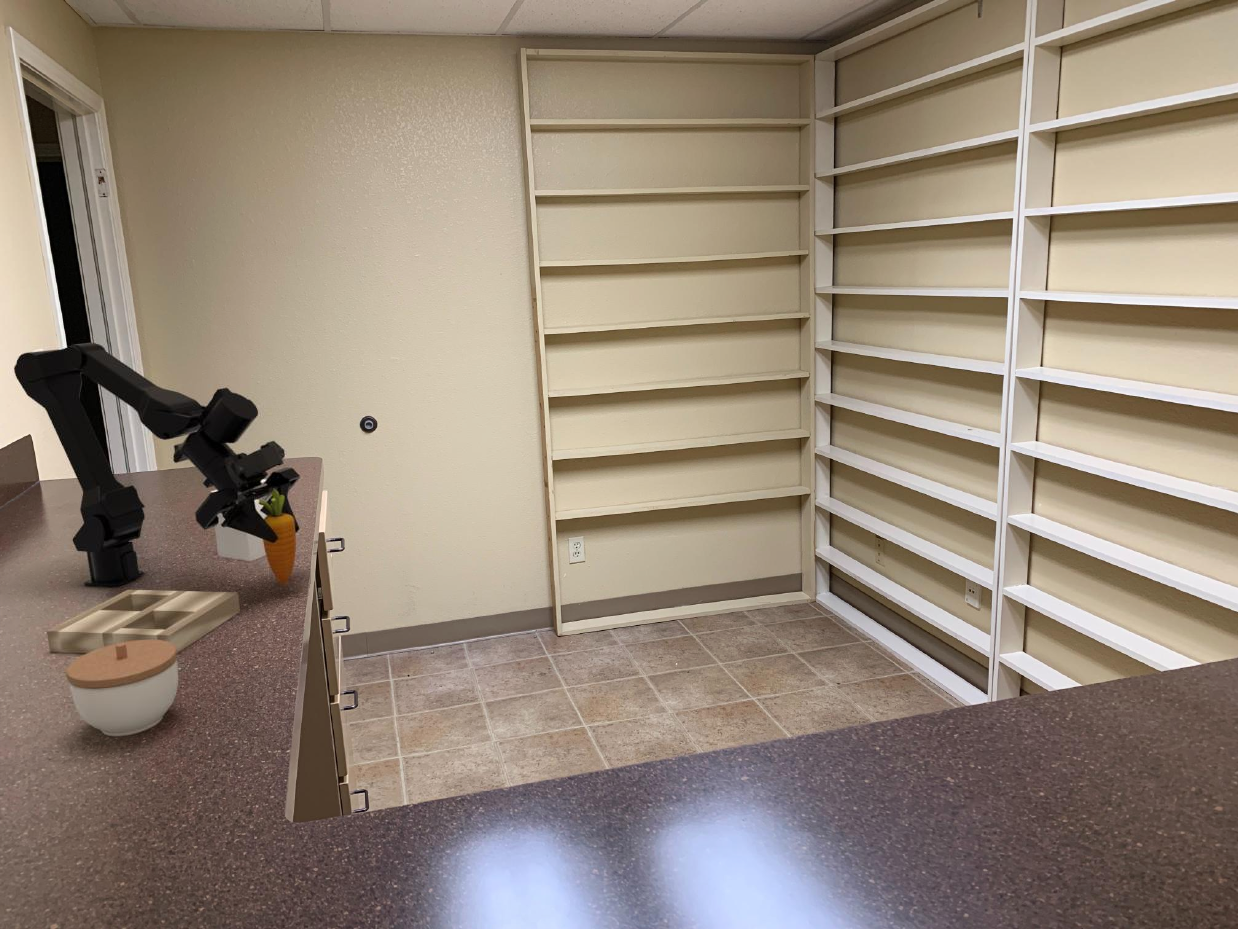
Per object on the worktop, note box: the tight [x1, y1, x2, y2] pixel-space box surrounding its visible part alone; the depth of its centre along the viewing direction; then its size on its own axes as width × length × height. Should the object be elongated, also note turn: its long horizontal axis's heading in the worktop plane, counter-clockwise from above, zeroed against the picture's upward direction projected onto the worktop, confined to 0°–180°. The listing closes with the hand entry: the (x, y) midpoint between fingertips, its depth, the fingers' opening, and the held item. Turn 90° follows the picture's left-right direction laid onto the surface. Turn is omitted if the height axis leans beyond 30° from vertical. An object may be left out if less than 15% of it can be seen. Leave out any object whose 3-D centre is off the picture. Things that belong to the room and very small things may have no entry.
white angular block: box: [209, 478, 267, 562], centre depth 163 cm, size 11×11×12 cm
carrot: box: [259, 490, 297, 586], centre depth 138 cm, size 5×5×15 cm
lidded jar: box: [65, 640, 179, 737], centre depth 99 cm, size 11×11×9 cm
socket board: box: [46, 589, 241, 654], centre depth 126 cm, size 18×16×3 cm
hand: (286, 535), depth 138 cm, fingers closed on carrot, 5 cm apart
